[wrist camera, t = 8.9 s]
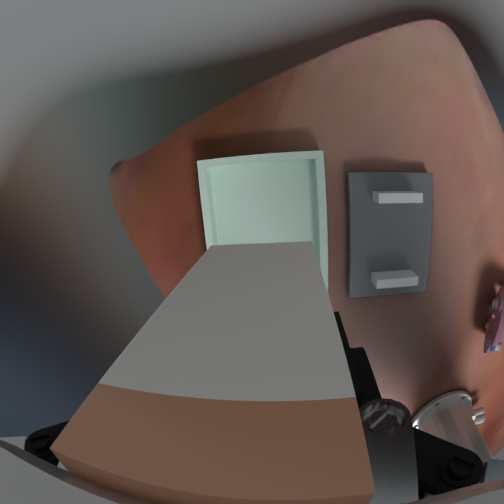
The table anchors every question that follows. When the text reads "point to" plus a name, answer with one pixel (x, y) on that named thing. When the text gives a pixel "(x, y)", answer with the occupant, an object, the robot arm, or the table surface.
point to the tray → (266, 200)
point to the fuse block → (388, 232)
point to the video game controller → (495, 325)
